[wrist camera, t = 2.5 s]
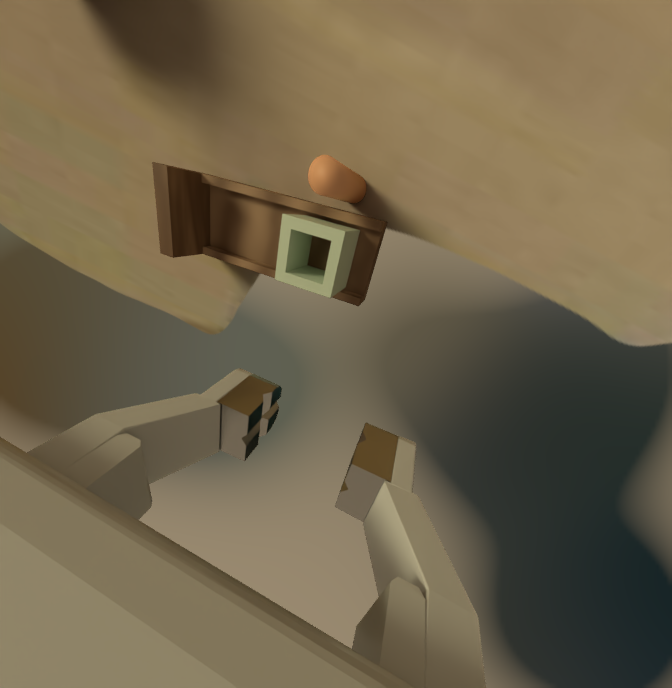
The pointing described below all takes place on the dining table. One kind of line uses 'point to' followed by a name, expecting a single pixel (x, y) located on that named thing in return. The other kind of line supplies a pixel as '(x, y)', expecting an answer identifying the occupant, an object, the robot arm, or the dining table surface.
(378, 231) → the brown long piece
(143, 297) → the dining table surface
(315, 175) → the dowel
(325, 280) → the socket block
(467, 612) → the robot arm
